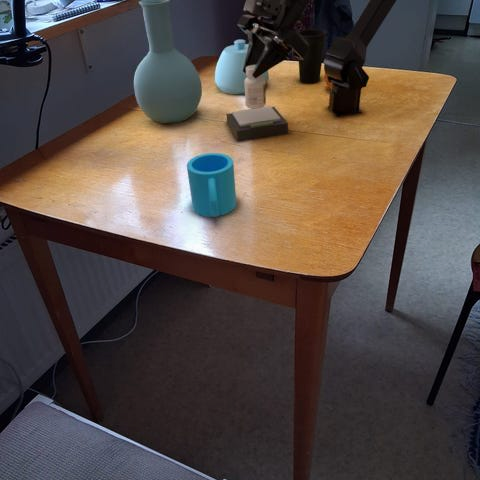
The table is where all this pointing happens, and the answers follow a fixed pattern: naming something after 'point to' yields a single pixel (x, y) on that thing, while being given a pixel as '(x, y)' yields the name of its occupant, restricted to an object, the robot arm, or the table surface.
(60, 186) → the table surface
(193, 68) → the vase
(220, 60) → the sugar bowl
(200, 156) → the mug
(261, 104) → the pill bottle
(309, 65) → the cup
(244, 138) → the scale
